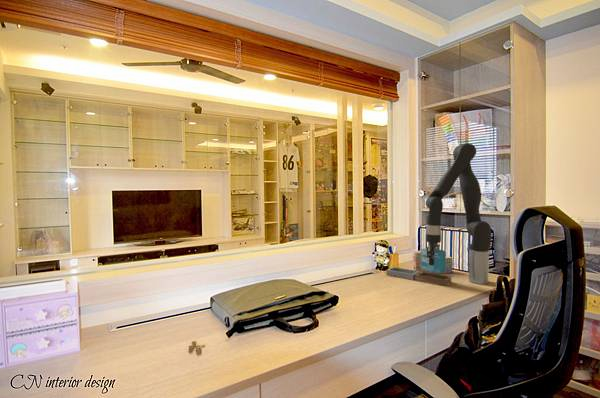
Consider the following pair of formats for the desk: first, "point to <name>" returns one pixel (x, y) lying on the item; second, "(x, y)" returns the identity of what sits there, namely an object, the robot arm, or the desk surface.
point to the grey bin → (402, 273)
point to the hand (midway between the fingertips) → (433, 264)
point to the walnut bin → (433, 278)
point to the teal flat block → (438, 258)
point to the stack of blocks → (418, 267)
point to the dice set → (198, 348)
